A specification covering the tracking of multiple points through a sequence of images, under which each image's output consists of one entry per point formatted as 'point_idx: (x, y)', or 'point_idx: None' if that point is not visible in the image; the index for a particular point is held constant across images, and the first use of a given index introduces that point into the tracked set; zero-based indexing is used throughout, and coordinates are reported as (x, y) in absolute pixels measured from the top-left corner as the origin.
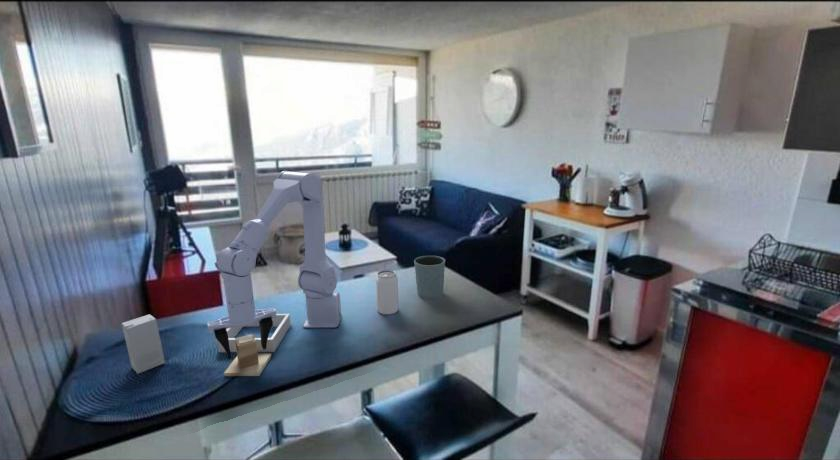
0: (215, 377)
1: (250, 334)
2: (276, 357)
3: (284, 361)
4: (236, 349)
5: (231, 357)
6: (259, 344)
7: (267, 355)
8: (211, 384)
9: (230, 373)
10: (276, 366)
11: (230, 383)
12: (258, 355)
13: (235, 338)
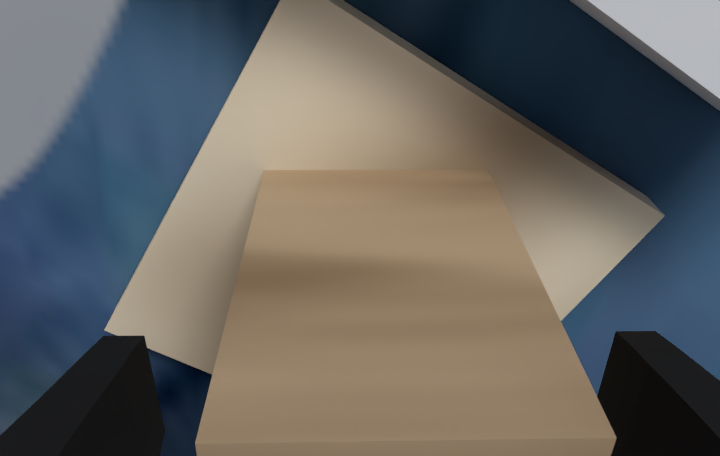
0: (25, 285)
1: (560, 438)
2: (678, 241)
3: (698, 343)
4: (239, 270)
5: (160, 445)
6: (638, 44)
7: (610, 234)
8: (6, 368)
9: (172, 350)
10: (597, 379)
11: (176, 422)
12: (521, 181)
13: (207, 454)
